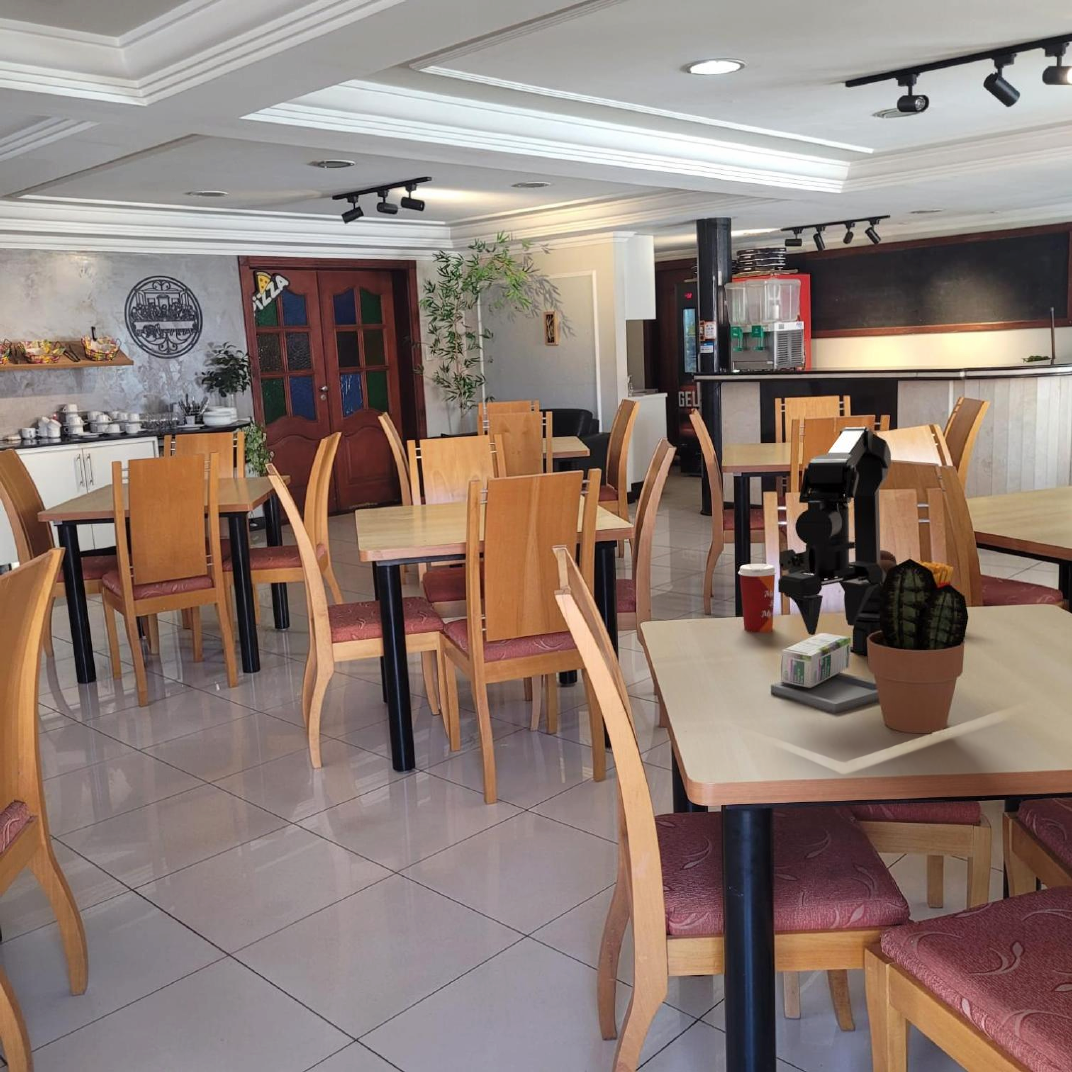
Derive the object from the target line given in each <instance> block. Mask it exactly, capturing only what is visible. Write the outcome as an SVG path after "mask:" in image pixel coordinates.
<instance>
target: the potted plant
mask: <svg viewBox="0 0 1072 1072" xmlns="http://www.w3.org/2000/svg"><path fill="white" fill-rule="evenodd" d="M915 561H916V560H913V559H911V558H908V559H906V560H905V561H903V562H900V563H899V564H897V565H896V566H894V567H893V568H891V569H889V570H888V572H887V575H886V578H885V580H884V583H883V586H882V588H881V591H880V594H879V614H880V628H881V630H882V631H878V632H875V633H872V634H870V635H869V636H868V637H867V649H868V655H867V663H868V664H867V665H868V670H869V672H871V673H872V674H873V677H874V682H876V687H877V691H878V696H879V701H878V702H879V705H880V710H881V715H882V719H883V723H884V725H885V726H887V727H888V728H889V729H892V730H894V731H898V732H902V733H906V734H907V733H910V734H931V733H932V734H933V733H936V732H941V730H942V731H943V730H944V729H945V728H946V726H947V724H948V721H949V715H950V710H951V706H952V702H953V698H954V693H955V688H956V685H957V680H958V678H959V677H960V676H961V675H962V674H963V670H964V658H965V657H964V654H965V637H966V631H967V626H968V622H969V614H968V608H967V607H968V606H967V603H966V596H965V595H964V594H963V593H961V592H960V591H959V590H957V589H956V588H955V587H954V586H953V585H951V584H947V585H945V586H942V587H939V588H938V587H937V584H936V582H935V579H934V576H933V574H932V571H931V570H929V569H928V568H926V567H924V566H923V565H921V564H919V563H917V562H915Z"/></svg>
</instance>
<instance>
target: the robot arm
mask: <svg viewBox="0 0 1072 1072" xmlns="http://www.w3.org/2000/svg"><path fill="white" fill-rule="evenodd" d="M891 462H892V453H891V449H890V446H889V445H888V442H887V440H886V439H884V438H882V437H880V436H878V435H876V434H874V433H873V430H872V428H870V427H867V426H846V427H844V428H841V429H840V430H839V436H838V437H837V439H836V441H835V442H834V444H833V445H832V447H830V449H829V451H828V452H827V453H825V454H820V455H816V456H814V457H813V458H811V459H810V460H809V462H808V464H807V465H806V466H805V467H804V470H803V471H804V472H803V476H802V482H801V487H800V492H799V498H798V503H799V504H807V509H806V510H804V511H803V512H801V513H800V514H799V516H798V517H797V519H796V522H795V525H794V528H795V532H796V535H797V537H798V538H799V540H801V542H803V543H804V544H805V551H802V552H798V553H797V552H796V551H795V550H794V549H792V548H791V549H785V550H783V551H780V552H779V557H778V558H779V559H778V563H779V567H780V569H781V570H782V571H783V572H785V571H787V573H788V574H787V573H786V574H783V575H781V576H780V577H779V578H778V581H777V582H778V583H777V585H778V586H777V588H778V589H777V591H778V593H781V594H784V596H785V597H786V598H790V599H791V600H792V601H793V602H794V603H795V605H796V606H797V608H798V610H799V613H800V615H801V617H802V618H801V619H802V621H803V623H804V626H805V629H806V631H807V634H809V635H811V636H815V635H816V632H817V628H818V624H819V618H820V612H821V608H822V604H823V603H822V602H823V598H824V596H823V595H820V592H821V591H822V589H823V587H825V586H828V585H833V584H839V585H840V586H841V588H842V590H843V591H844V595H843V603H844V613H845V620H846V622H847V625H848V626H851V627H852V646H850V652H853V653H857V654H863V655H866V656H868V649H867V637H868V636H869V635H870V634H872V633H875V632H878V631H882V630H881V628H880V614H879V594H880V591H881V588H882V586H883V583H884V580H885V578H886V573H885V572H884V570H883V569H882V568H881V563H880V550H881V531H880V527H881V526H880V525H881V524H880V520H881V519H880V518H881V517H880V489H881V487H882V485H883V484H884V482H885V480H886V478H887V477H888V474H889V471H888V470H889V469H890V468H891ZM852 499H853V526H854V527H853V529H854V534H853V535H854V541H850V511H849V509H850V507H849V504H850V503H851V501H852ZM852 549H854V561H850V550H852Z"/></svg>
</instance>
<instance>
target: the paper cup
mask: <svg viewBox="0 0 1072 1072" xmlns="http://www.w3.org/2000/svg"><path fill="white" fill-rule="evenodd" d="M775 569H776V568H775V566H774V565H772V564H768V563H748V564H743V565H741V566H740V567H739V571H738V572H737V573H738V575H739V579H740V592H741V603H742V604H741V605H742V618H743V619H742V620H743V628H744V630H745V631H747V632H750V633H767V632H768V633H769V632H771V631H773V628H774V627H773V626H774V624H773V623H774V604H775V582H776V580H775V578H776V574H777V571H776V570H775Z"/></svg>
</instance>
